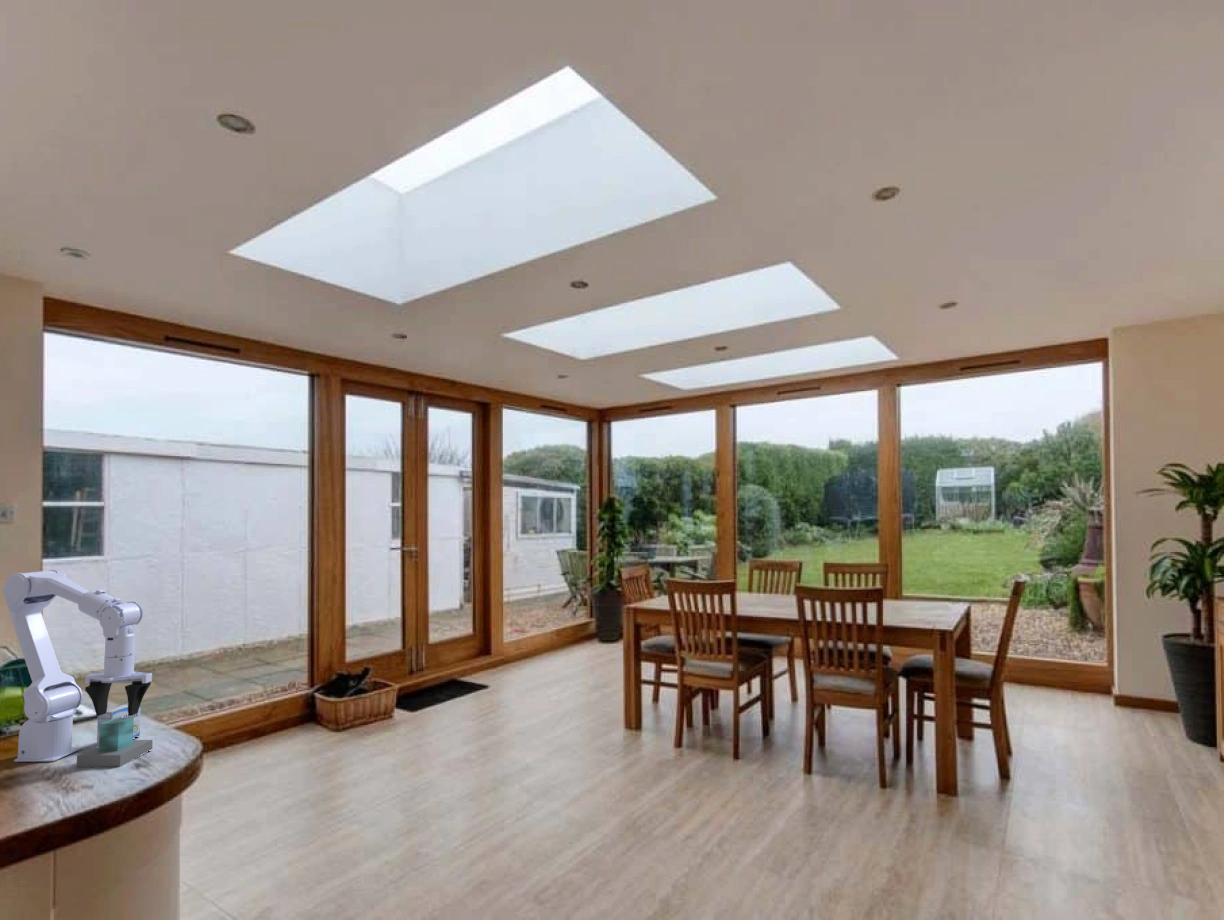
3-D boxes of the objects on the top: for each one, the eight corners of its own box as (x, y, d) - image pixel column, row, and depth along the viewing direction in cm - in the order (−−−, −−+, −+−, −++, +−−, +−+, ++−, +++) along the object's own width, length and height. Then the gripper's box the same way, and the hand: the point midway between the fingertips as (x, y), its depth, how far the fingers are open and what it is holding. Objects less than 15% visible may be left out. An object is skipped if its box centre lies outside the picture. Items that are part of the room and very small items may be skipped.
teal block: (98, 751, 151) (99, 724, 151) (114, 744, 155) (115, 718, 155) (117, 750, 150) (118, 724, 151) (132, 744, 155) (133, 717, 155)
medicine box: (110, 748, 159) (112, 712, 160) (95, 747, 160) (97, 711, 161) (140, 737, 167) (141, 702, 168) (125, 736, 168) (127, 702, 169)
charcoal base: (76, 766, 148) (77, 755, 148) (111, 750, 158) (111, 740, 158) (119, 766, 147) (120, 755, 148) (152, 750, 157) (152, 739, 158)
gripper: (75, 659, 151) (72, 720, 150) (137, 658, 150) (134, 719, 149) (100, 652, 158) (97, 710, 157) (159, 652, 157) (157, 710, 156)
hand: (117, 714), depth 153 cm, fingers open, 7 cm apart
